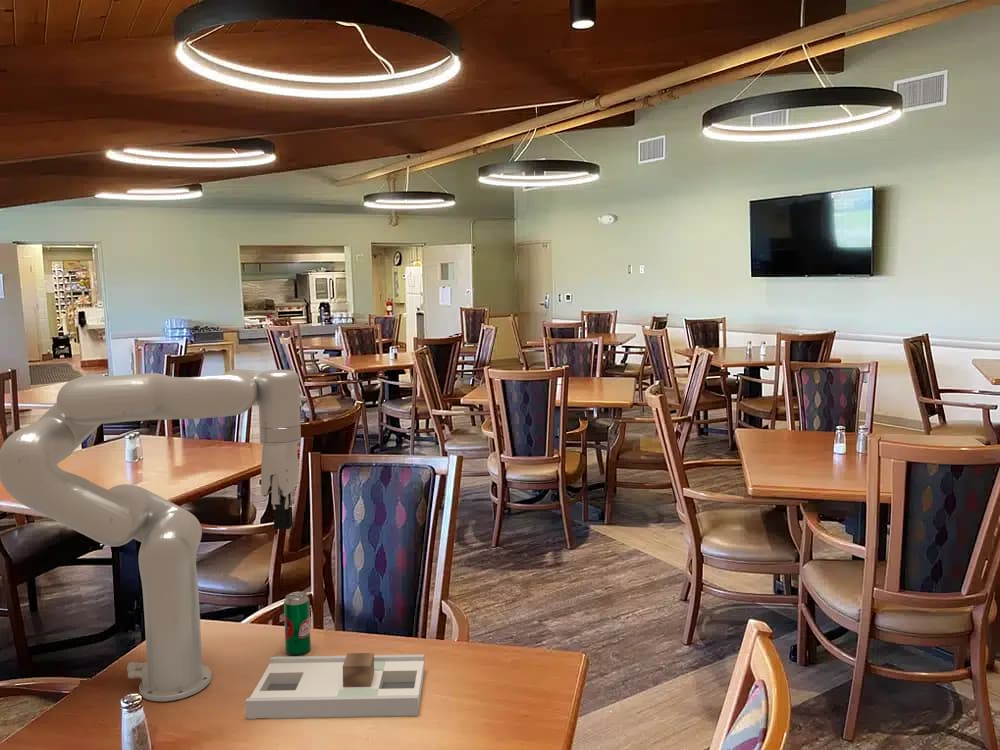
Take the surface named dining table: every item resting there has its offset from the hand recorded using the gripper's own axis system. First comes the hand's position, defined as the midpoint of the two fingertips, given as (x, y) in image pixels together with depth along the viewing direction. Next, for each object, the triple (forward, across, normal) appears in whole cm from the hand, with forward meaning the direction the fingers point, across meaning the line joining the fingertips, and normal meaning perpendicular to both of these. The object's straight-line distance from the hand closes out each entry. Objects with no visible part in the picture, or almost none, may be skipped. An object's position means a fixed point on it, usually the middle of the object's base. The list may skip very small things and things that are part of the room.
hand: (283, 527), depth 144 cm
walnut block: (+26, +9, +16) cm, 32 cm away
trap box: (+29, +9, +12) cm, 33 cm away
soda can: (+29, -8, 0) cm, 30 cm away
